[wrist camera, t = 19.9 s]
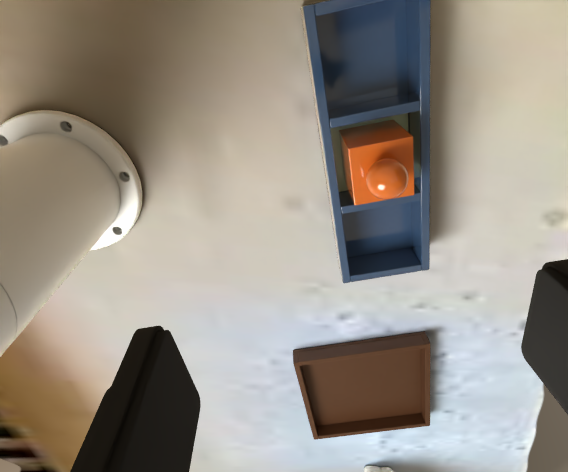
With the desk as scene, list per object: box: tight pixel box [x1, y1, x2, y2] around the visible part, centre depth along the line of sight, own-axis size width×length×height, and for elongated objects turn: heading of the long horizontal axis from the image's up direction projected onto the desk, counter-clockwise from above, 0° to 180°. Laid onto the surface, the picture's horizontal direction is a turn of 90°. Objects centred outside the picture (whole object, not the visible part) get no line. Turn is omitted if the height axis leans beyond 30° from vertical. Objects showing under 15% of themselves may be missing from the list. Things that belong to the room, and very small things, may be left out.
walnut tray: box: [293, 331, 430, 439], centre depth 45 cm, size 15×15×2 cm
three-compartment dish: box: [301, 0, 431, 283], centre depth 29 cm, size 8×22×4 cm, turn 11°
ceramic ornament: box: [339, 119, 414, 205], centre depth 27 cm, size 4×4×8 cm
